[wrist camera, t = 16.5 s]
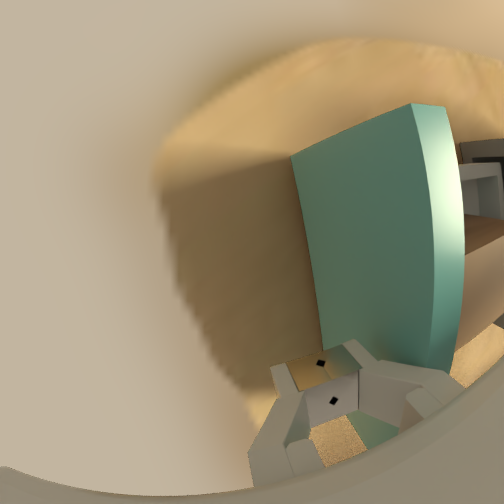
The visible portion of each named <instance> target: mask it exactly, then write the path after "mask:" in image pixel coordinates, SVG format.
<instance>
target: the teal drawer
mask: <svg viewBox="0 0 504 504" xmlns="http://www.w3.org/2000/svg"><path fill="white" fill-rule="evenodd" d="M290 158H291V162H292V167H293V171H294V176H295V181H296V185H297V190H298V195H299V200H300V205H301V210H302V215H303V220H304V225H305V231H306V236H307V242H308V247H309V253H310V259H311V265H312V271H313V277H314V284H315V290H316V297H317V304H318V311H319V319H320V326H321V334H322V343H323V351H324V350H327V349H330V348H332V347H335V346H338V345H340V344H341V343H344V342H346V341H349V340H351V339H356V340H357V341H358V342H359V343H360V344H361V345H362V346H363V347H364V348H365V349H366V350H367V351H368V352H369V353H370V354H371V355H372V356H373V357H374V358H375V359H376V360H377V361H380V360H386V361H391V362H396V363H401V364H406V365H412V366H418V367H423V368H430V369H436V370H443V371H445V372H446V373H447V374H448V375H449V373H450V369H451V365H452V360H453V356H454V351H455V346H456V340H457V335H458V329H459V322H460V314H461V306H462V296H463V284H464V262H465V235H464V214H469V215H476V216H482V217H489V218H495V219H501V220H504V191H503V180H502V172H501V165H500V163H468V164H458V162H457V157H456V151H455V146H454V141H453V137H452V132H451V128H450V124H449V120H448V116H447V113H446V109H445V107H441V106H433V105H424V104H412V103H410V104H408V105H405V106H403V107H400V108H397V109H395V110H392V111H390V112H387V113H385V114H382V115H380V116H377V117H375V118H373V119H370V120H368V121H365V122H363V123H361V124H358V125H356V126H354V127H352V128H349V129H347V130H345V131H343V132H340V133H338V134H336V135H334V136H332V137H329V138H327V139H325V140H323V141H321V142H319V143H317V144H314V145H312V146H310V147H308V148H306V149H304V150H302V151H300V152H298V153H296V154H294V155H292V156H290ZM346 416H347V418H348V419H349V421H350V422H351V424H352V425H353V427H354V429H355V430H356V432H357V433H358V435H359V436H360V438H361V440H362V441H363V443H364V444H365V446H366V447H367V449H368V450H369V449H371V448H373V447H375V446H377V445H379V444H381V443H383V442H385V441H387V440H389V439H391V438H393V437H395V436H397V435H398V432H399V427H396V426H394V425H391V424H389V423H386V422H384V421H382V420H379V419H377V418H375V417H372V416H370V415H368V414H365V413H363V412H361V411H359V410H356V411H354V412H351V413H349V414H346Z"/></svg>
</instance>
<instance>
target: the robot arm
mask: <svg viewBox="0 0 504 504" xmlns="http://www.w3.org/2000/svg"><path fill="white" fill-rule="evenodd" d="M270 371H271V375H272V379H273V383H274V387H275V391H276V394H277V398H278V399H276V401H275V403H274V405H273V407H272V409H271V411H270V412H269V414H268V416H267V418H266V420H265V422H264V424H263V426H262V428H261V429H260V431H259V433H258V435H257V437H256V439H255V440H254V442H253V444H252V446H251V448H250V449H249V451H248V458H249V463H250V468H251V474H252V479H253V484H254V487H253V488H247V489H241V490H235V491H228V492H221V493H212V494H202V495H189V496H188V495H187V496H138V495H124V494H114V493H106V492H99V491H92V490H87V489H81V488H76V487H71V486H67V485H62V484H58V483H55V482H50V481H47V480H43V479H40V478H37V477H34V476H31V475H28V474H25V473H22V472H20V471H17V470H15V469H12V468H9V467H0V504H504V355H503V356H502V357H501V358H500V359H499V360H498V361H497V362H496V363H495V364H494V365H493V366H492V367H491V368H490V369H489V370H488V371H487V372H485V373H484V374H483V375H482V376H481V377H480V378H479V379H477V380H476V381H475V382H474V383H473V384H472V385H470V386H469V387H468V388H467V389H466V388H464V387H463V386H462V385H461V384H459V383H458V382H457V381H456V380H455V379H453V378H452V377H451V376H450V375H448V374H447V373H446V372H445V371H443V370H436V369H430V368H423V367H418V366H412V365H406V364H401V363H396V362H391V361H386V360H380V361H377V360H376V359H375V358H374V357H373V356H372V355H371V354H370V353H369V352H368V351H367V350H366V349H365V348H364V347H363V346H362V345H361V344H360V343H359V342H358V341H357V340H356V339H351V340H349V341H346V342H344V343H341V344H340V345H338V346H335V347H332V348H330V349H327V350H324V351H321V352H318V353H315V354H312V355H308V356H305V357H302V358H298V359H295V360H292V361H288V362H285V363H281V364H278V365H274V366H271V367H270ZM356 410H359V411H361V412H363V413H365V414H368V415H370V416H372V417H375V418H377V419H379V420H382V421H384V422H386V423H389V424H391V425H394V426H396V427H399V432H398V435H397V436H395V437H393V438H391V439H389V440H387V441H385V442H383V443H381V444H379V445H377V446H375V447H373V448H371V449H369V450H367V451H365V452H362V453H360V454H358V455H356V456H353V457H351V458H349V459H346V460H344V461H341V462H339V463H336V464H333V465H331V466H328V467H324V465H323V462H322V460H321V458H320V456H319V454H318V452H317V450H316V447H315V445H314V443H313V441H312V440H310V439H308V438H309V434H310V431H311V428H312V427H315V426H317V425H320V424H323V423H325V422H328V421H330V420H333V419H335V418H338V417H341V416H343V415H346V414H349V413H351V412H354V411H356Z"/></svg>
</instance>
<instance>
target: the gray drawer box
mask: <svg viewBox="0 0 504 504" xmlns="http://www.w3.org/2000/svg"><path fill="white" fill-rule="evenodd" d="M460 147H461V152H462V158H463V164H468V163H500V165H501V172H502V180H503V191H504V139H492V140H482V141H472V142H464V143H460ZM493 324H495V325H497V326H499V327H501V328H503V329H504V313H503V314H502V315H501V316H500V317H499V318H497V319H496V320H495V321H494V322H493Z"/></svg>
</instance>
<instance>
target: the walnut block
mask: <svg viewBox="0 0 504 504" xmlns="http://www.w3.org/2000/svg"><path fill="white" fill-rule="evenodd" d="M464 235H465V262H464V284H463V296H462V306H461V314H460V322H459V329H458V335H457V340H456V346H455V351H457V350H458V349H459V348H461V347H462V346H464V345H465V344H466V343H468V342H469V341H470V340H472V339H473V338H474V337H476V336H477V335H478V334H479V333H481V332H482V331H483V330H484V329H486V328H487V327H488V326H489V325H490V324H492V323H493V322H494V321H495V320H496V319H497V318H499V317H500V316H501V315H502V314H503V313H504V220H501V219H495V218H489V217H482V216H476V215H469V214H464ZM455 351H454V352H455Z"/></svg>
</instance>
